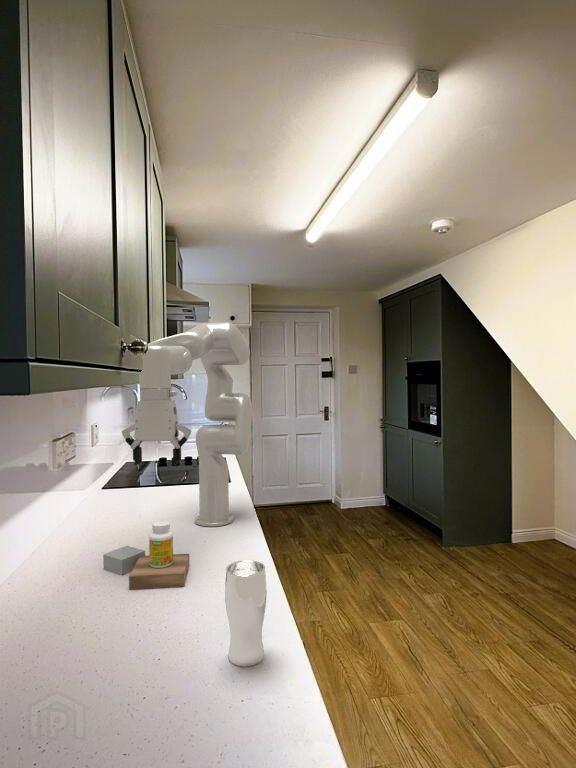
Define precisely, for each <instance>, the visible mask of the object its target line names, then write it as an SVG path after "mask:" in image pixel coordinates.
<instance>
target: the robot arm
mask: <svg viewBox="0 0 576 768" xmlns="http://www.w3.org/2000/svg"><path fill="white" fill-rule="evenodd" d="M147 344H148V353H146V354H144V355H143V356H142V359H143V370H142V371H141V372H140V374H138V379H139V380H138V381H139V383H138V384H139V400H138V401H137V402H136V406H135V407H136V408H135V415H134V424H133V425H131V426H129V427H127V428H125V429H123V430H121V435H122V436H123V439H125V441H124V442H126V444H128V446H130V449H132V461H133V462H134V465H135V466H138V465H140V464H141V463H143V454H142V453H143V451H142V446H141V444H142V443H143V442H170V443H171V444H172V446H173V449H172V464H173V465H174V466H176V465H178V464H180V461H181V460H182V446H184V445H185V443H187V442H188V439H189V438H190V436H191V434H192V429H191V428H188V427H186V426H184V425H182V424H180V423H179V418H178V417H179V416H178V410H177V405H176V400H173V397H177V395H178V392H177V390H174V389H173V388H172V381H171V380H172V379H171V378H172V377H171V375H183V374H186V373H187V372H188V371H189V370H190V369H191V368H192V366H193V361H195V360H199V359H200V361H201V364H202V365H203V366H202V367H203V368H204V371H205V373H206V374H205V375H206V376H207V384H206V385H207V386H206V387H207V389H206V392H205V393H206V395H205V400H204V401H205V402H204V416H205V418H206V419H207V420H208V421H211V422H220V423H221V422H225V423H226V422H227V423H234V424H206V425H203V426H201V427H199V428H198V429H197V431H196V433H195V445H196V449H197V456H198V457H197V458H198V481H199V482H198V484H199V485H198V489H199V490H198V492H199V493H198V496H199V498H198V499H199V501H198V502H199V505H198V506H199V513H198V514H199V515H198V514H197V516H195V518H194V524H196V525H198V526H202V527H221V526H225V525H229V524H231V523H233V522H234V519H235V518H234V515H233V514H231V513H229V510H230V509H229V507H230V506H229V505H230V504H229V501H230V500H229V499H230V497H229V493H230V492H229V491H230V490H229V488H230V487H229V481H230V480H229V465H228V462H227V461H226V459H225V458H224V456H223V455H237V456H239V455H244V454H245V453H246V452H248V449H249V446H250V440H251V430H252V429H251V428H252V421H253V418H252V417H253V402H252V399H251V398H250V396H249V395H248V394H245V393H239V392H238V393H237V392H235V393H234V392H233V387H234V380H233V378H232V375H231V374H230V372H229V371H228V370H227V369H226V367H224V366H242V365H245V364H247V363H248V361H249V360H250V356H251V355H250V354H251V351H250V347H249V344H248V341H247V340H246V338H245V336H243V334H242V332H241V331H240V330H239V328H238V327H237V326H236V325H235V324H234V323H232V322H229V321H219V322H218V321H217V322H214V321H213V322H203V323H199V324H197V325H196V326H194V327H192V328H190V329H189V330H187V331H184V332H182V333H177V334H174V335H171V336H167V337H164V338H160V339H159V338H158V339H156V340H153V341H151V342H149V343H147ZM133 431H134V438H133V437H132V436H131V433H132V432H133ZM180 432H181V433H183V436H182V438H181V439H180V438H178V437H179V434H180Z"/></svg>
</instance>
